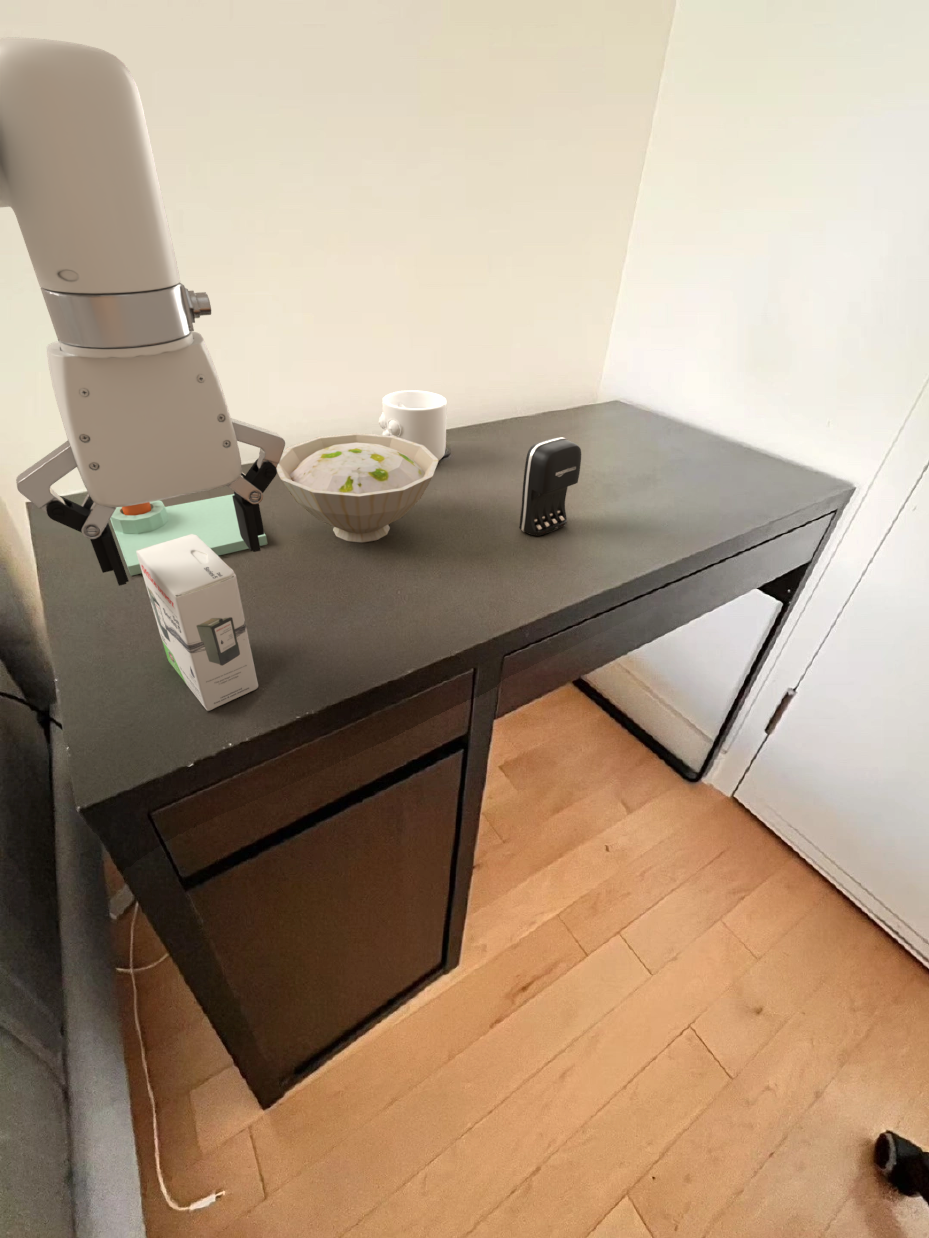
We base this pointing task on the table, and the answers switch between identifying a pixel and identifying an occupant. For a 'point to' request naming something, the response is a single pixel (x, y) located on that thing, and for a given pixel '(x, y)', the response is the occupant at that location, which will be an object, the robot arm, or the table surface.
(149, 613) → the table surface
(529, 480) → the battery charger
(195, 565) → the ink box
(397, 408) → the mug
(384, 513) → the bowl
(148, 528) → the scale
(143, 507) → the button
